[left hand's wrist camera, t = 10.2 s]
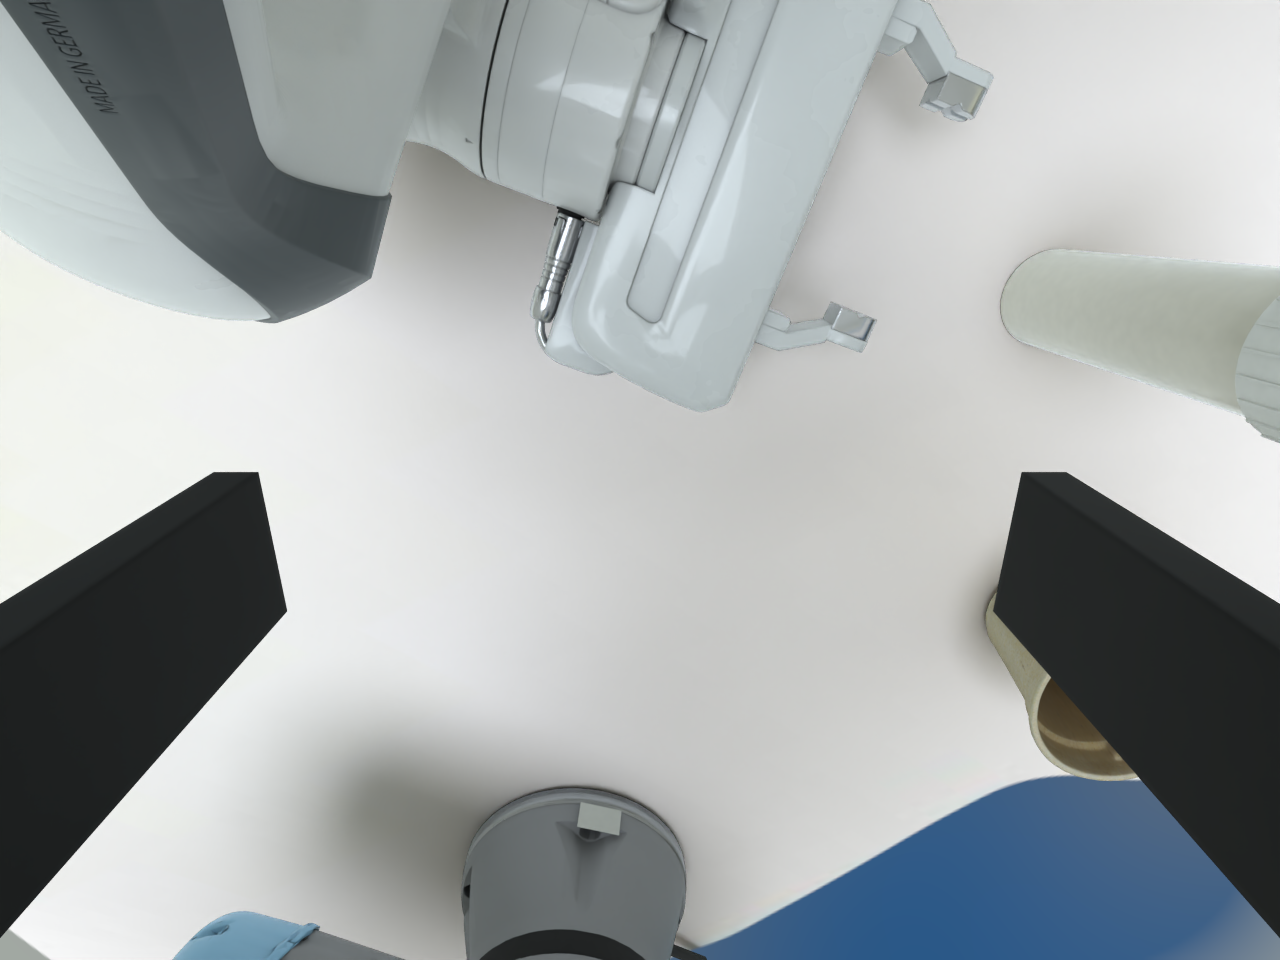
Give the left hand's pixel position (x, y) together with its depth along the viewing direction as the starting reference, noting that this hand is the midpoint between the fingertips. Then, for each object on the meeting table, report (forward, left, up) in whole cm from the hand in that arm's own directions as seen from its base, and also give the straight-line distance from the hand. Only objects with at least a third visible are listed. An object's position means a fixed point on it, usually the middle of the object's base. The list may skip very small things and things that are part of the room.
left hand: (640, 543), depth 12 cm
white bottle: (-10, -18, -25) cm, 33 cm away
